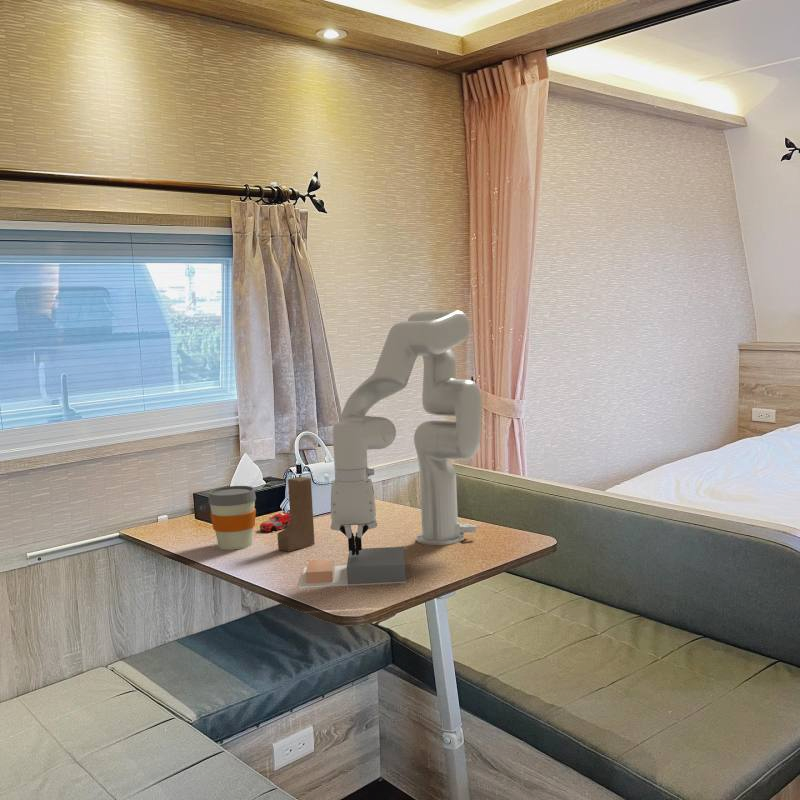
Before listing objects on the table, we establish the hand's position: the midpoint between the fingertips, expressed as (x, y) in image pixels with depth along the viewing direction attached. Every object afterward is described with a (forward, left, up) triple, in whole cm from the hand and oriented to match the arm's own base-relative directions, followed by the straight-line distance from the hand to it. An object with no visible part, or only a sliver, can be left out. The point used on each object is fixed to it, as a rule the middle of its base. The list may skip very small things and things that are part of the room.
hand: (355, 553), depth 189 cm
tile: (+8, 0, -4) cm, 9 cm away
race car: (+24, -49, -6) cm, 55 cm away
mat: (+1, 0, -5) cm, 5 cm away
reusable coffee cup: (+34, -32, -6) cm, 47 cm away
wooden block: (+17, -27, -6) cm, 32 cm away
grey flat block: (-5, 0, -5) cm, 7 cm away
